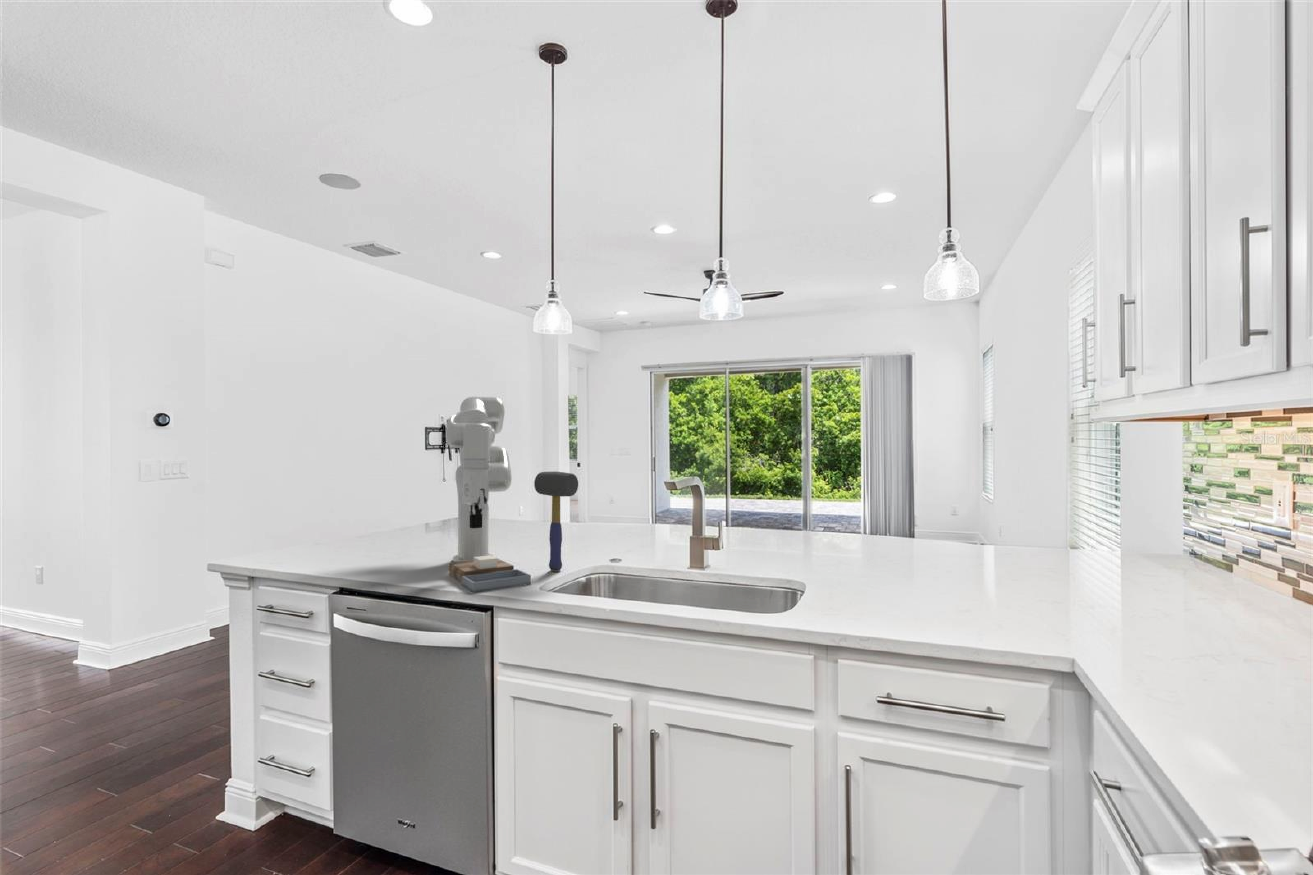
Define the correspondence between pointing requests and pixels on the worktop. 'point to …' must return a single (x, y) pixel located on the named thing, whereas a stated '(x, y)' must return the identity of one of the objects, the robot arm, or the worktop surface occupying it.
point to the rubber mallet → (556, 507)
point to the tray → (496, 580)
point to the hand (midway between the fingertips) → (475, 527)
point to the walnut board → (475, 569)
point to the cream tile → (485, 562)
